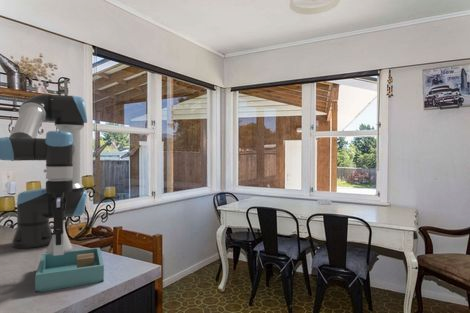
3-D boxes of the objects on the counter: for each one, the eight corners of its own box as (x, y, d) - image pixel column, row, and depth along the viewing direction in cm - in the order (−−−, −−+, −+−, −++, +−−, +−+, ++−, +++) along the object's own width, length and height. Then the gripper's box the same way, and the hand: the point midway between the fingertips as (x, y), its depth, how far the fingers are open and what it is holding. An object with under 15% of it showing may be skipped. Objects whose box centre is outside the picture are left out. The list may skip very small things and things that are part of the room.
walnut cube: (77, 269, 105) (77, 254, 105) (93, 267, 108) (93, 252, 108) (76, 275, 101) (76, 259, 101) (93, 272, 103) (94, 257, 103)
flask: (40, 254, 98) (40, 222, 98) (58, 247, 105) (58, 217, 105) (61, 256, 97) (61, 223, 97) (77, 249, 104) (77, 219, 104)
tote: (42, 268, 108) (42, 254, 108) (99, 261, 116) (99, 247, 116) (35, 292, 90) (35, 275, 90) (103, 281, 98) (103, 265, 98)
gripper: (48, 177, 108) (48, 244, 108) (42, 183, 90) (42, 262, 90) (73, 177, 111) (73, 241, 112) (72, 182, 93) (71, 259, 93)
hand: (59, 251), depth 101 cm, fingers closed on flask, 8 cm apart
